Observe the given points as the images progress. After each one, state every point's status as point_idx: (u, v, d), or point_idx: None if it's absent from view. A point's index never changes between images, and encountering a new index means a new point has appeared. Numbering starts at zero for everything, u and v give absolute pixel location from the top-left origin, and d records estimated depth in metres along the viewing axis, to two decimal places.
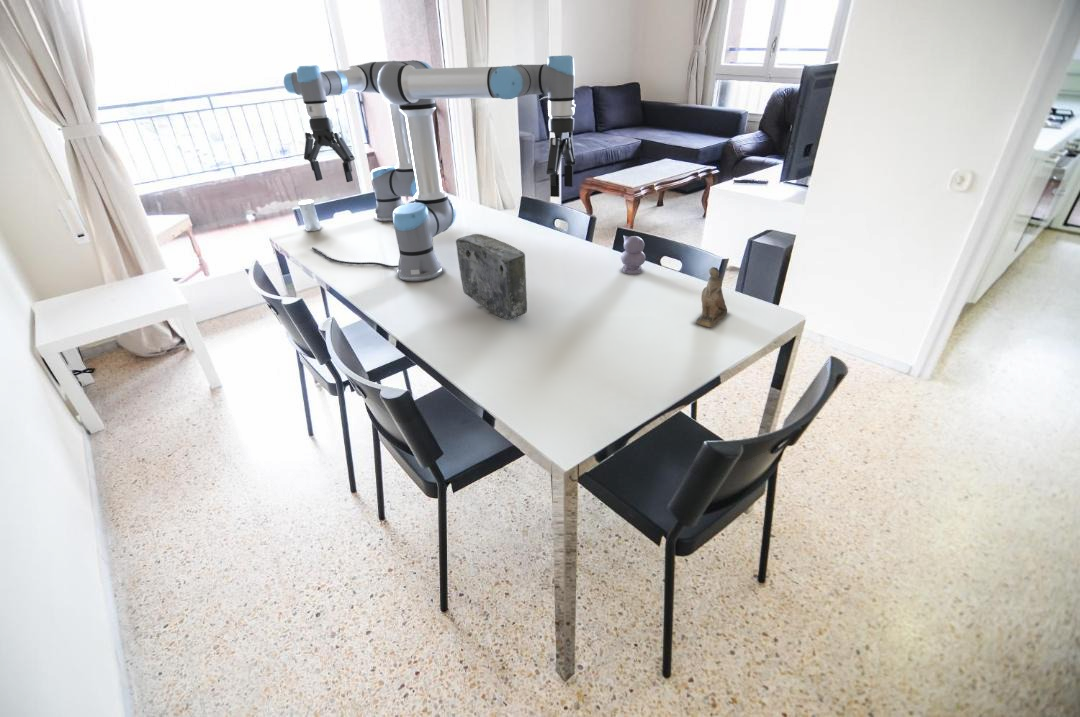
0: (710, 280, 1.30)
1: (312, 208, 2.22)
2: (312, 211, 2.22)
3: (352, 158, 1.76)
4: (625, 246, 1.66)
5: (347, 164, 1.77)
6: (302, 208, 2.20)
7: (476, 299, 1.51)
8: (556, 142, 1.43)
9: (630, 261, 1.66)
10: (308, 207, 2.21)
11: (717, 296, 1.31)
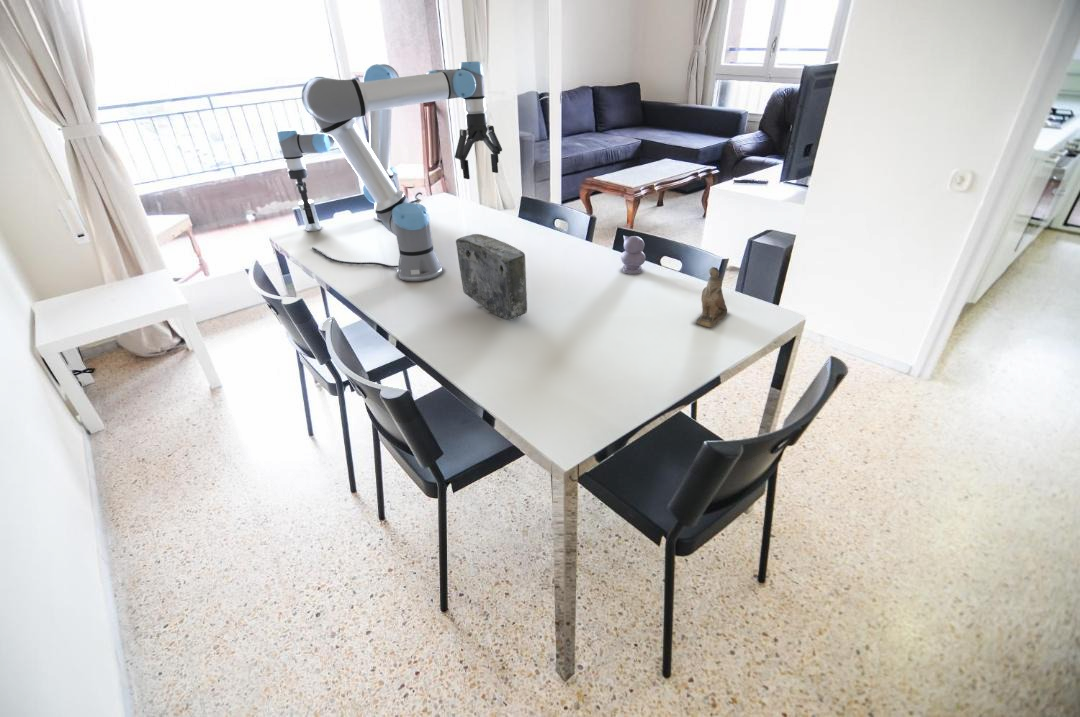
0: (710, 280, 1.30)
1: (312, 208, 2.22)
2: (312, 211, 2.22)
3: (307, 207, 2.17)
4: (625, 246, 1.66)
5: (306, 211, 2.19)
6: (302, 208, 2.20)
7: (476, 299, 1.51)
8: None
9: (630, 261, 1.66)
10: None
11: (717, 296, 1.31)
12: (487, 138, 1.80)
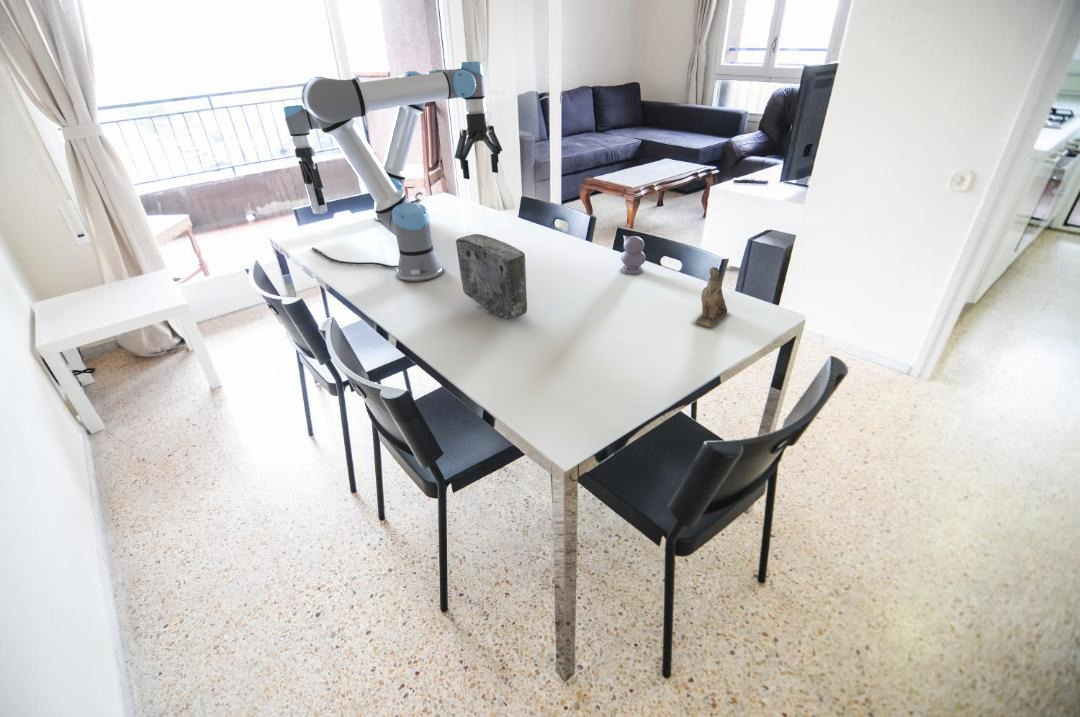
0: (710, 280, 1.30)
1: None
2: None
3: (320, 187, 2.07)
4: (625, 246, 1.66)
5: (317, 191, 2.08)
6: (311, 189, 2.09)
7: (476, 299, 1.51)
8: None
9: (630, 261, 1.66)
10: None
11: (717, 296, 1.31)
12: (487, 138, 1.80)
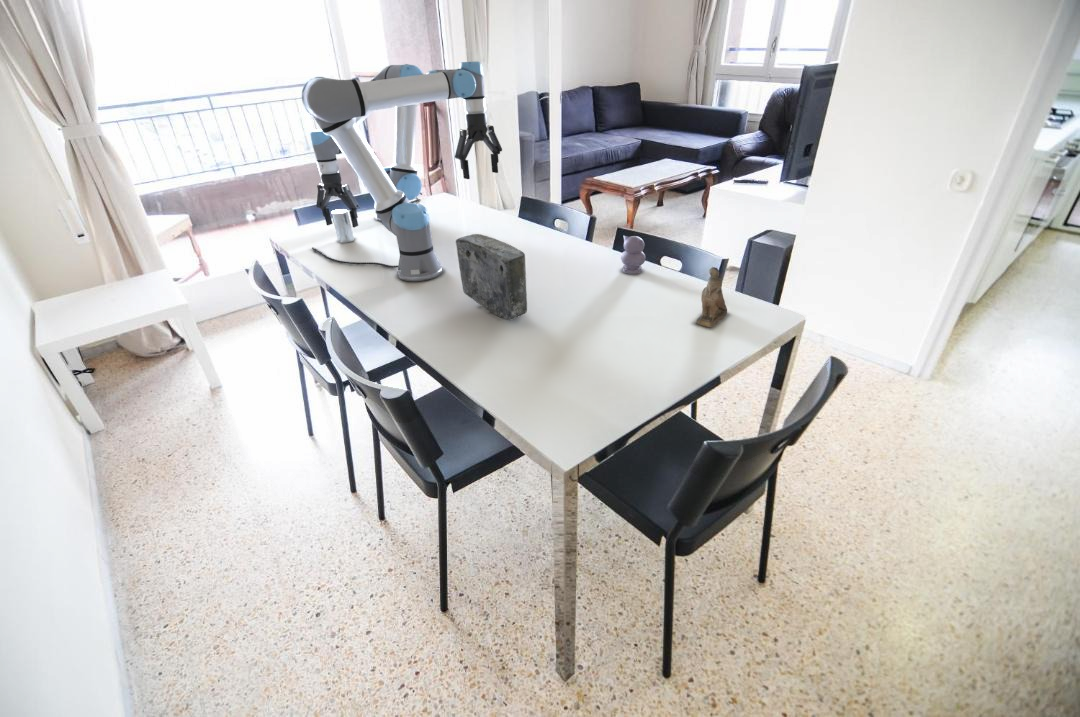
0: (710, 280, 1.30)
1: (348, 216, 2.08)
2: None
3: (358, 207, 2.02)
4: (625, 246, 1.66)
5: (353, 212, 2.03)
6: (341, 218, 2.05)
7: (476, 299, 1.51)
8: None
9: (630, 261, 1.66)
10: (347, 216, 2.06)
11: (717, 296, 1.31)
12: (487, 138, 1.80)
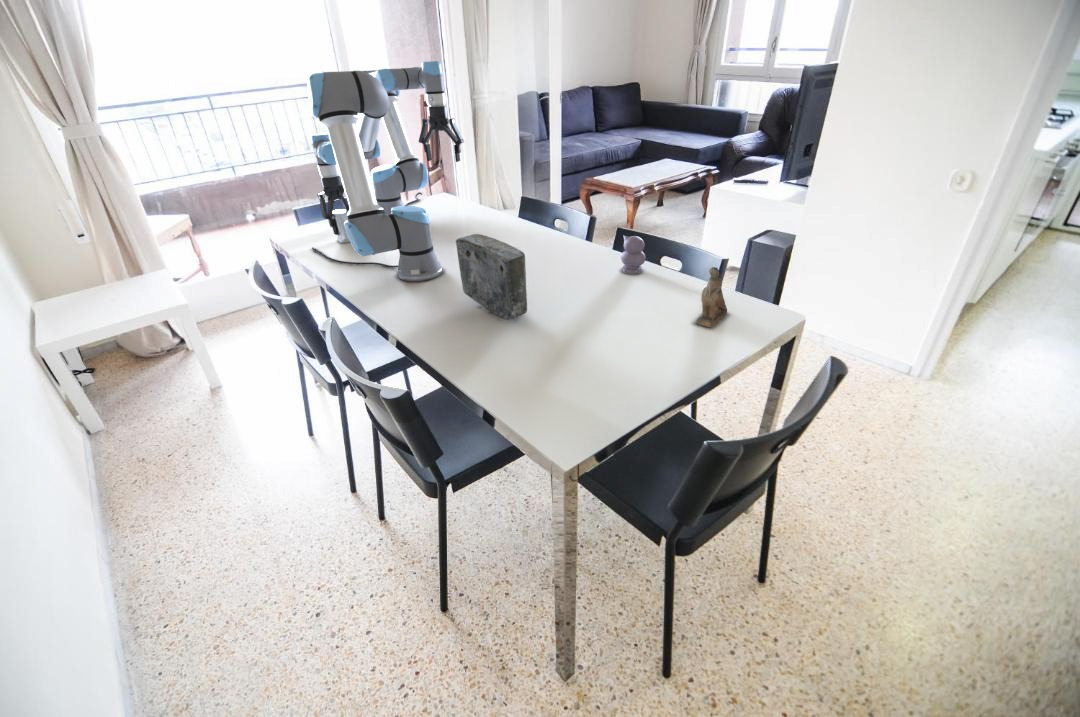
0: (710, 280, 1.30)
1: None
2: None
3: (462, 141, 2.05)
4: (625, 246, 1.66)
5: (458, 146, 2.06)
6: (341, 218, 2.05)
7: (476, 299, 1.51)
8: None
9: (630, 261, 1.66)
10: None
11: (717, 296, 1.31)
12: (342, 198, 2.03)
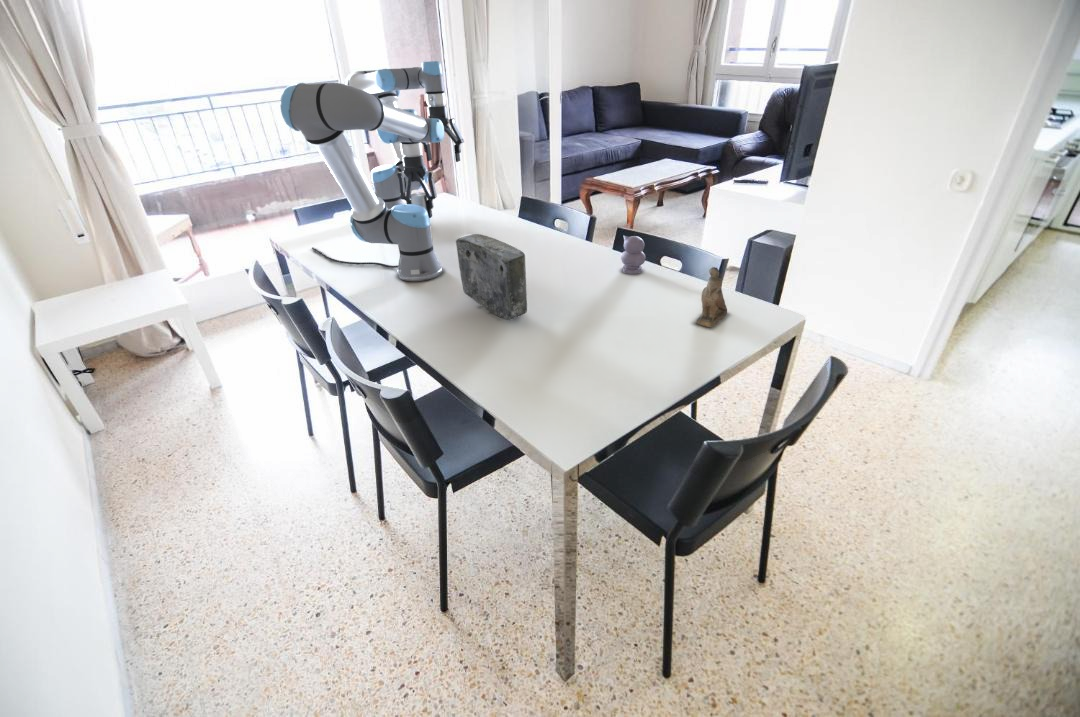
0: (710, 280, 1.30)
1: (425, 201, 1.93)
2: (425, 204, 1.93)
3: (462, 141, 2.05)
4: (625, 246, 1.66)
5: (458, 146, 2.06)
6: (415, 201, 1.92)
7: (476, 299, 1.51)
8: (432, 175, 1.90)
9: (630, 261, 1.66)
10: (422, 201, 1.92)
11: (717, 296, 1.31)
12: (420, 181, 1.89)
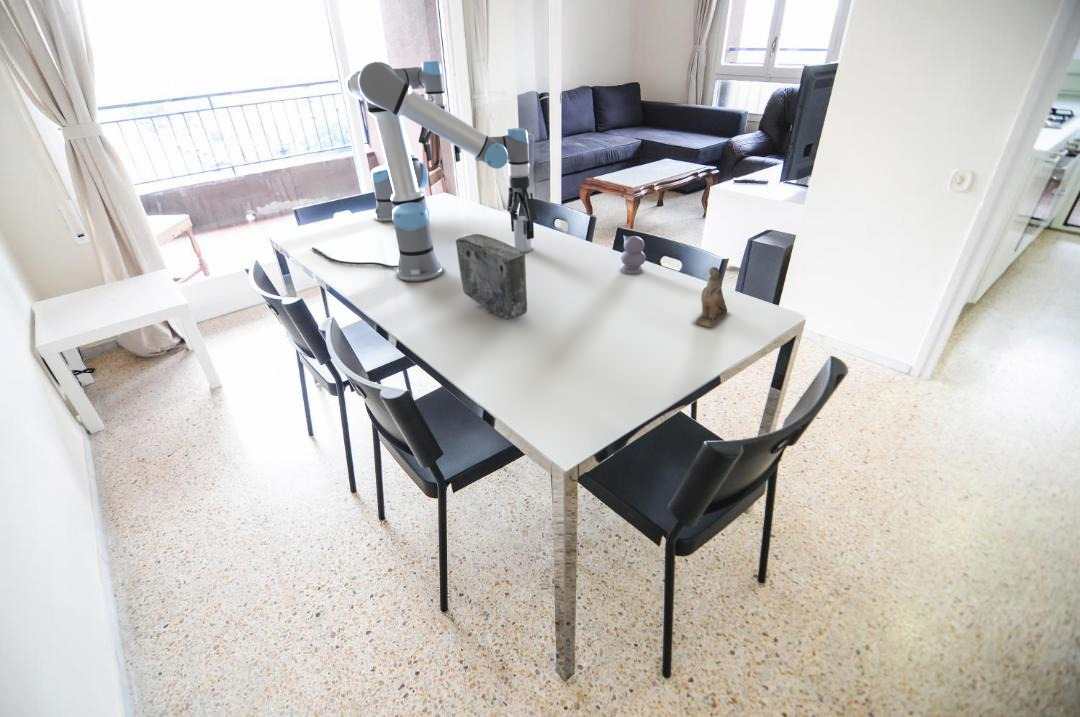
0: (710, 280, 1.30)
1: (522, 227, 1.87)
2: (521, 230, 1.87)
3: None
4: (625, 246, 1.66)
5: None
6: None
7: (476, 299, 1.51)
8: (531, 196, 1.78)
9: (630, 261, 1.66)
10: (518, 225, 1.86)
11: (717, 296, 1.31)
12: (520, 202, 1.82)
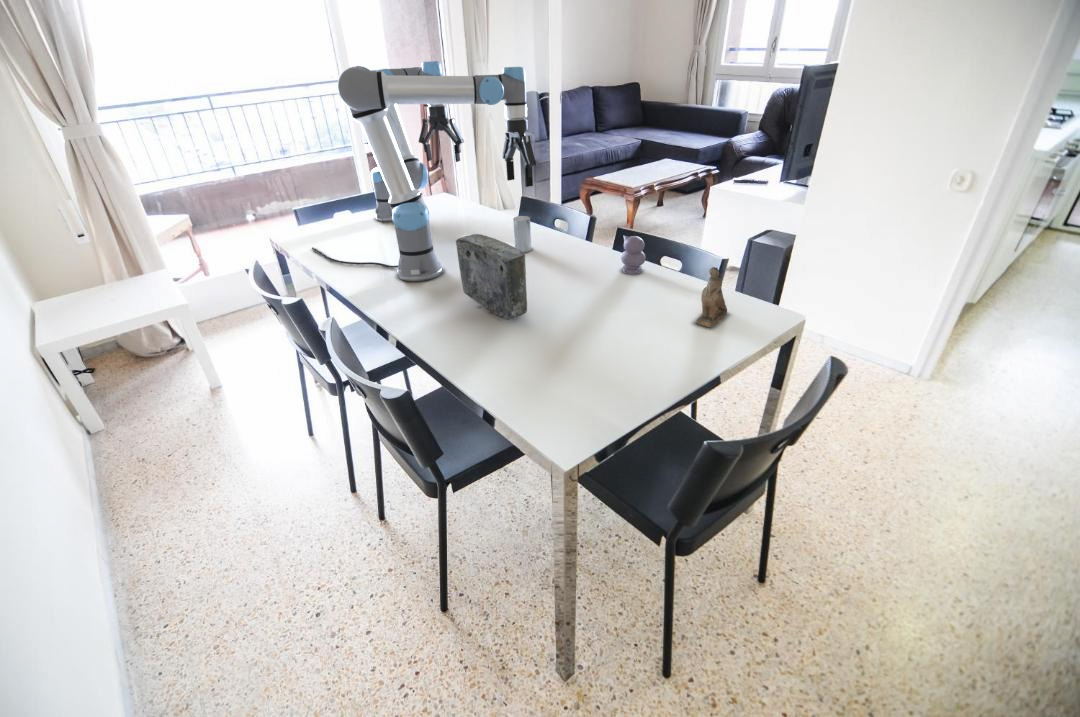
0: (710, 280, 1.30)
1: (522, 227, 1.87)
2: (521, 230, 1.87)
3: (462, 141, 2.05)
4: (625, 246, 1.66)
5: (458, 146, 2.06)
6: None
7: (476, 299, 1.51)
8: (529, 139, 1.68)
9: (630, 261, 1.66)
10: (518, 225, 1.86)
11: (717, 296, 1.31)
12: (518, 147, 1.72)
